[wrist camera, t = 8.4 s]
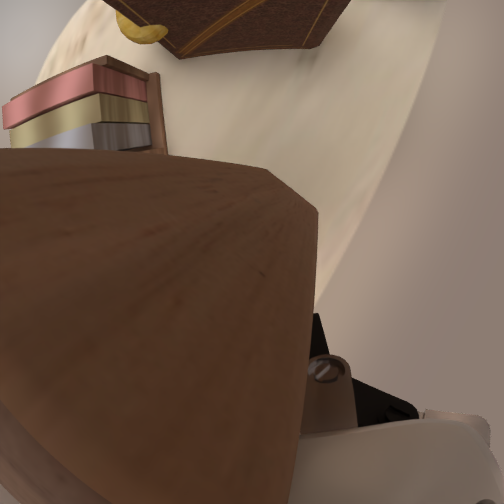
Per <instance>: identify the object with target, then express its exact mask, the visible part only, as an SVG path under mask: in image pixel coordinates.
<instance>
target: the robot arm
mask: <svg viewBox="0 0 504 504" xmlns="http://www.w3.org/2000/svg"><path fill="white" fill-rule="evenodd" d="M0 504H20V503H19V502H18V501H17V500H16V499H15V498H14V497H13V496H12V495H11V494H10V493H9V492H8V491H7V490H6V489H5V488H4V487H3V486H2V485H1V484H0ZM288 504H504V475H503V473H502V471H501V469H500V466H499V464H498V462H497V460H496V458H495V456H494V455H493V453H492V451H491V450H490V426H489V424H488V422H487V421H486V420H485V419H484V418H482V417H481V416H478V415H472V414H461V413H451V412H442V411H435V410H428V409H426V410H425V412H418V411H417V409H416V408H415V407H414V406H413V405H412V404H410V403H408V402H407V401H404V400H402V399H399V398H397V397H395V396H392V395H390V394H387V393H385V392H383V391H381V390H378V389H376V388H374V387H371V386H369V385H367V384H365V383H363V382H360V381H358V380H356V379H354V378H352V377H351V370H350V366H349V364H348V363H347V362H346V361H345V360H344V359H343V358H341V357H339V356H335V355H330V354H329V350H328V346H327V342H326V339H325V335H324V331H323V327H322V324H321V320H320V316H319V314H318V313H313V322H312V333H311V344H310V355H309V364H308V373H307V382H306V391H305V399H304V406H303V414H302V421H301V428H300V435H299V442H298V448H297V454H296V460H295V466H294V472H293V478H292V483H291V489H290V494H289V499H288Z"/></svg>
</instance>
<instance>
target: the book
mask: <svg viewBox="0 0 504 504" xmlns="http://www.w3.org/2000/svg"><path fill="white" fill-rule="evenodd" d="M103 1H104V2H106V3H107V4H108V5H110V6H111V7H113V8H114V9H115V10H116V19H117V23H118V26H119V28H120V30H121V32H122V33H123V34H124V35H125V36H126V37H127V38H128V39H129V40H131V41H133V42H136V43H138V44H152V43H154V42H159V43H160V44H161V45H162V46H163V47H165V48H166V49H167V50H168V51H170V52H171V53H172V54H173V55H174V56H176V57H177V58H178V59H186V58H192V57H198V56H204V55H212V54H220V53H228V52H238V51H250V50H266V49H311V48H314V47H316V46H319V45H320V44H321V42H322V41H323V39H324V38H325V36H326V35H327V34H328V32H329V31H330V29H331V28H332V26H333V25H334V23H335V22H336V21H337V19H338V18H339V16H340V15H341V14H342V12H343V11H344V9H345V8H346V7H347V5H348V4H349V2H350V1H351V0H103Z"/></svg>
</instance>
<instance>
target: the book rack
mask: <svg viewBox="0 0 504 504" xmlns="http://www.w3.org/2000/svg"><path fill="white" fill-rule="evenodd" d="M2 113H3V129H12V130H10V131H9V132H10V142H11V148H76V149H98V150H115V151H129V152H141V153H152V154H162V155H168V151H167V143H166V135H165V126H164V117H163V108H162V98H161V87H160V76H159V74H158V73H157V72H154V73H150V74H148V73H146V72H144V71H142V70H140V69H137V68H135V67H133V66H131V65H129V64H126V63H124V62H122V61H120V60H117V59H115V58H113V57H110V56H108V55H105V56H102V57H99V58H96V59H94V60H91V61H89V62H86V63H83V64H81V65H78V66H76V67H74V68H71V69H69V70H67V71H64V72H62V73H60V74H58V75H56V76H53V77H51V78H49V79H47V80H45V81H43V82H41V83H39V84H37V85H35V86H33V87H31V88H30V89H28V90H26V91H24V92H22V93H20V94H18V95H17V96H15V97H13V98H12V99H11V101H10V102H9V103H7V104H5V105H4V106H2ZM13 128H14V129H13Z"/></svg>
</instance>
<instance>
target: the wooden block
mask: <svg viewBox="0 0 504 504" xmlns="http://www.w3.org/2000/svg"><path fill="white" fill-rule="evenodd" d="M317 240H318V211H317V209H316V208H315V207H314V206H313V205H311V204H310V203H309V202H308V201H306V200H305V199H304V198H303V197H301V196H300V195H299V194H298V193H296V192H295V191H294V190H293V189H291V188H290V187H289V186H287V185H286V184H285V183H284V182H282V181H281V180H280V179H278V178H277V177H276V176H274V175H273V174H272V173H271V172H269V171H268V170H267V169H263V168H258V167H252V166H247V165H240V164H234V163H227V162H220V161H212V160H205V159H197V158H189V157H181V156H172V155H162V154H152V153H141V152H129V151H115V150H98V149H76V148H0V484H1V485H2V486H3V487H4V488H5V489H6V490H7V491H8V492H9V493H10V494H11V495H12V496H13V497H14V498H15V499H16V500H17V501H18V502H19V503H20V504H288V499H289V494H290V489H291V483H292V478H293V472H294V466H295V460H296V454H297V448H298V442H299V435H300V428H301V421H302V414H303V406H304V399H305V391H306V382H307V373H308V364H309V355H310V344H311V333H312V322H313V309H314V295H315V280H316V262H317Z"/></svg>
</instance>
